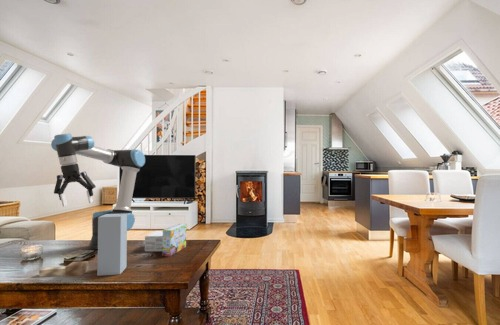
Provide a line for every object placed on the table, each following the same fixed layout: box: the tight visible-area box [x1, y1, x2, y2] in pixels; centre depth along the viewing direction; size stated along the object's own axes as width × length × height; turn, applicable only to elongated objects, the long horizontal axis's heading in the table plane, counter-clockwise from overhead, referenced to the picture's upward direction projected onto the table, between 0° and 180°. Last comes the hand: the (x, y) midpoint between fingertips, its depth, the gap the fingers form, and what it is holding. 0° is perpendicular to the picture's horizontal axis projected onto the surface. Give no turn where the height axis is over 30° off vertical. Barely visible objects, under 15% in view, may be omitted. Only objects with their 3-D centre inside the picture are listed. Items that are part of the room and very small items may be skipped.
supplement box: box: [144, 230, 163, 252], centre depth 173 cm, size 17×13×9 cm
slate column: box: [96, 213, 128, 277], centre depth 132 cm, size 10×10×27 cm
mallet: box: [38, 260, 89, 277], centre depth 128 cm, size 19×7×4 cm, turn 99°
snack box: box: [161, 223, 187, 258], centre depth 164 cm, size 21×6×15 cm, turn 168°
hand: (78, 204), depth 141 cm, fingers open, 13 cm apart
